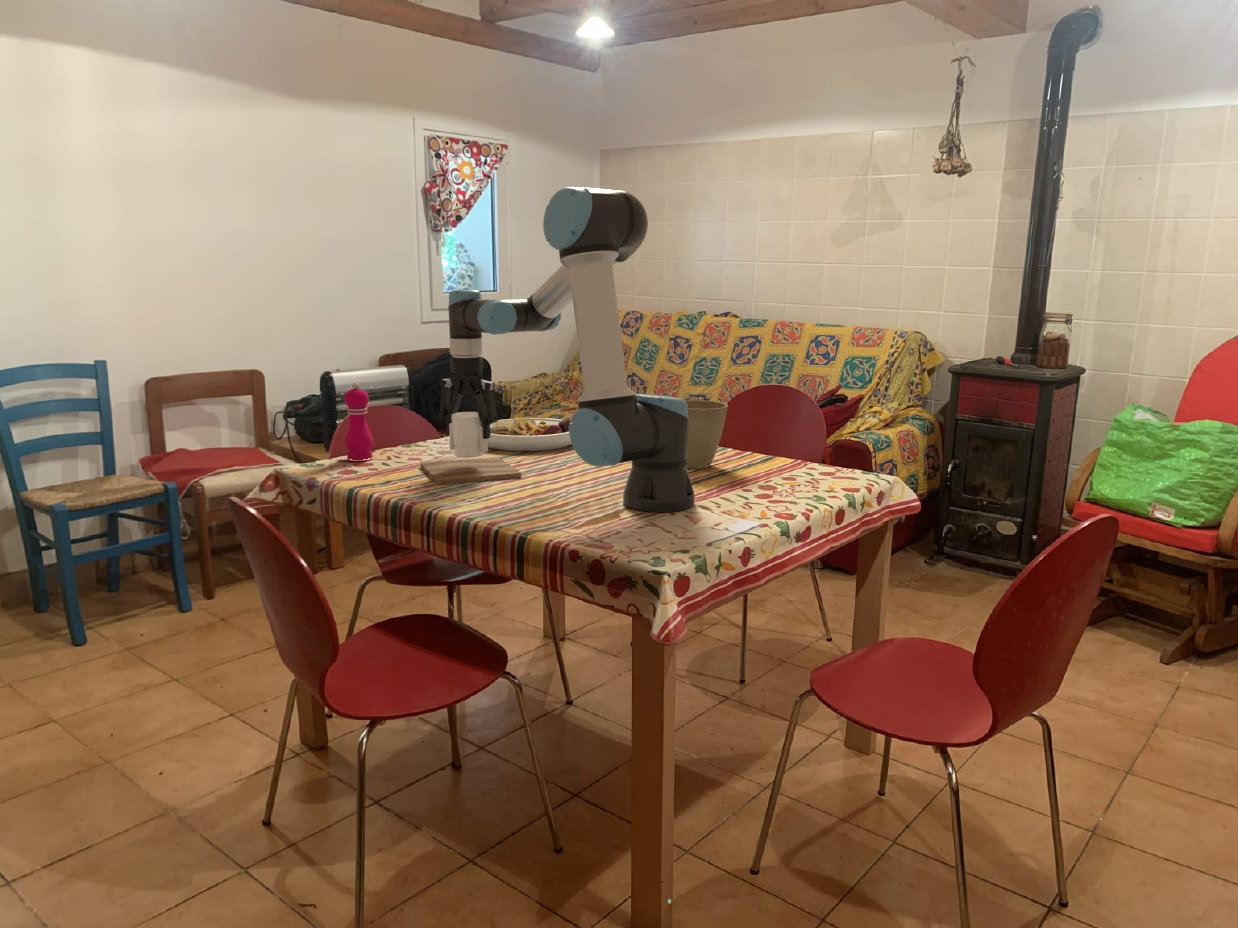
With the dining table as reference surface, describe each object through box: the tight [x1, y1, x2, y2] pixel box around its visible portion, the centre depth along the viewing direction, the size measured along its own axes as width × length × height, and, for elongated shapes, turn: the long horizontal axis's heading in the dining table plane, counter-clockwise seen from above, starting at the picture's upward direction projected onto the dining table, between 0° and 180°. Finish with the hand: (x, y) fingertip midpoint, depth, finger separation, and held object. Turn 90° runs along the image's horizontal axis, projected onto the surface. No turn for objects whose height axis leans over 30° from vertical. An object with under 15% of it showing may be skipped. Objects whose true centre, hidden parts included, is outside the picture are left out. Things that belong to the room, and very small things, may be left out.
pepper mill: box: [343, 382, 375, 460], centre depth 229 cm, size 7×7×20 cm
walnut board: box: [420, 456, 522, 486], centre depth 217 cm, size 20×20×1 cm
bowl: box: [488, 417, 572, 452], centre depth 255 cm, size 30×30×8 cm
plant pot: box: [683, 399, 729, 470], centre depth 224 cm, size 15×15×16 cm
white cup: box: [451, 411, 484, 459], centre depth 215 cm, size 8×8×10 cm
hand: (468, 450), depth 216 cm, fingers closed on white cup, 8 cm apart
